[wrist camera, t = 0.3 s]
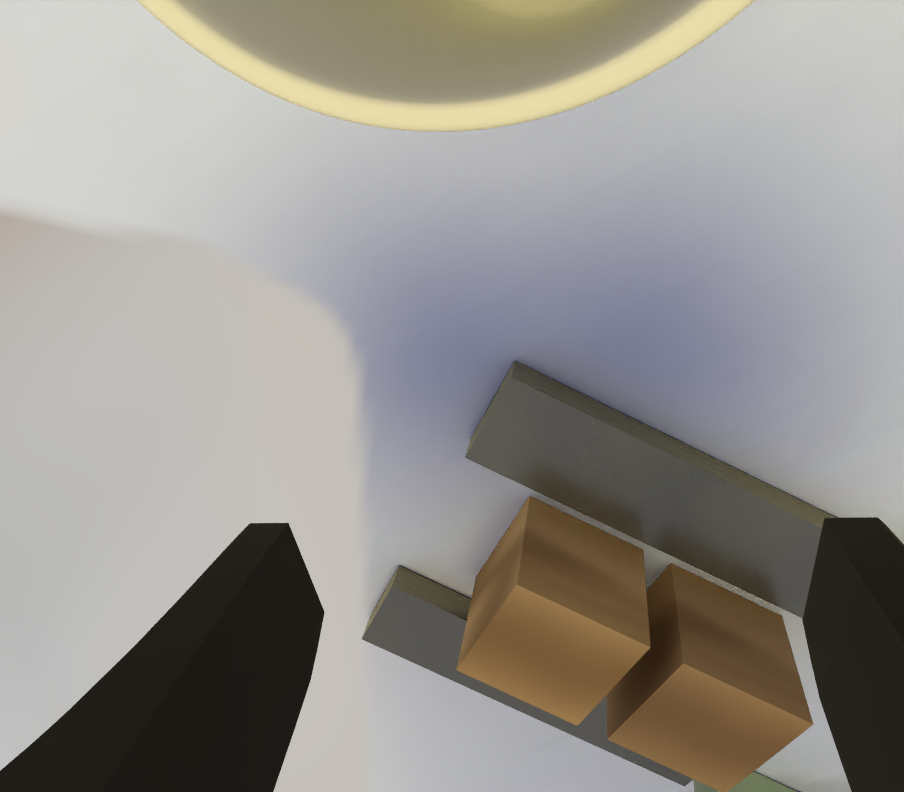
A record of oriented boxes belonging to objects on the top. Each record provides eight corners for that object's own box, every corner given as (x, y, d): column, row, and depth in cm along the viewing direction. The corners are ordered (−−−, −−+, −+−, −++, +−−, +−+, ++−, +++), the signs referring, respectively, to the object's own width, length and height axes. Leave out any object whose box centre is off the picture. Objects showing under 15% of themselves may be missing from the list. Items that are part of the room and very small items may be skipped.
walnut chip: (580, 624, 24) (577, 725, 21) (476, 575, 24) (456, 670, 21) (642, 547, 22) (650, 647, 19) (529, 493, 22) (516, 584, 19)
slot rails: (682, 760, 27) (684, 786, 26) (369, 617, 26) (361, 638, 25) (914, 555, 21) (928, 579, 20) (514, 360, 20) (510, 377, 19)
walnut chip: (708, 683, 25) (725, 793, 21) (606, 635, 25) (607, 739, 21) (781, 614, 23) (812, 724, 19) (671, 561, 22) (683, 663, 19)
